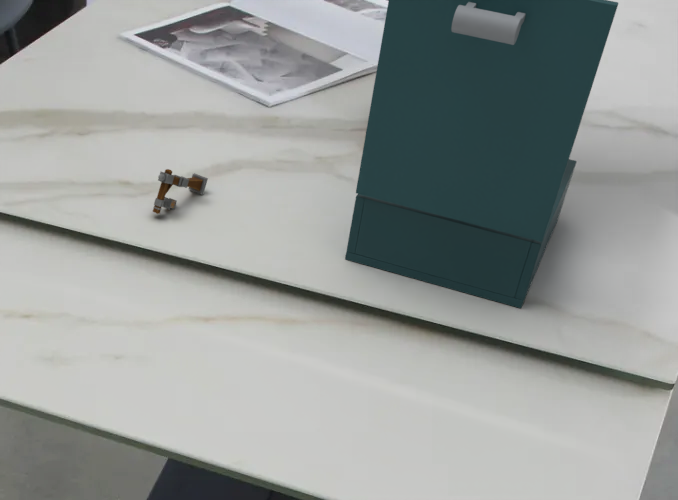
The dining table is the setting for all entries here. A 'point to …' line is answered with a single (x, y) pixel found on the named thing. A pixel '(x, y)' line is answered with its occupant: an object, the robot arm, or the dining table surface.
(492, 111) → the lid
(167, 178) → the brown grey bent piece
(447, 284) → the teal box base
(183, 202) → the dining table surface
